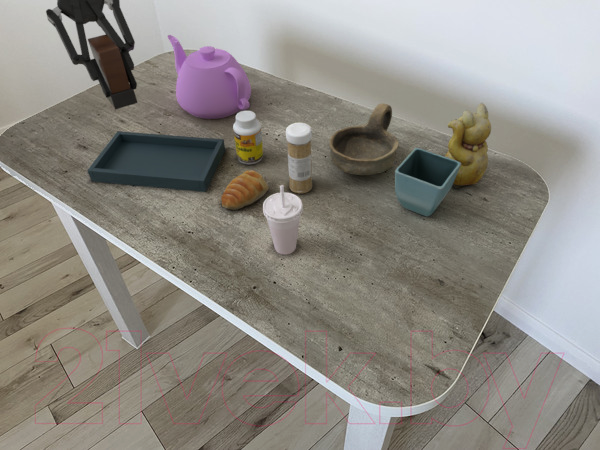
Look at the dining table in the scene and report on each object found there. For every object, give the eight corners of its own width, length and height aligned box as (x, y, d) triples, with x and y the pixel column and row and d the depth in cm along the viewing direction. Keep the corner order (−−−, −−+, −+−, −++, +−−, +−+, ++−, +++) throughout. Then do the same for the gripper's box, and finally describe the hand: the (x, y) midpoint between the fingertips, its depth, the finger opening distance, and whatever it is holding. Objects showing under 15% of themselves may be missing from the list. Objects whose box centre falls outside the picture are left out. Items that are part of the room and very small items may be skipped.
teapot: (274, 102, 117) (270, 47, 108) (222, 135, 108) (213, 78, 98) (203, 73, 129) (194, 21, 119) (151, 101, 119) (136, 47, 110)
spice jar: (311, 179, 96) (311, 120, 86) (312, 194, 93) (312, 135, 83) (288, 180, 96) (285, 121, 86) (288, 195, 93) (285, 136, 83)
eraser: (103, 92, 97) (84, 38, 89) (124, 86, 98) (108, 32, 91) (115, 109, 92) (96, 54, 84) (137, 102, 94) (121, 47, 86)
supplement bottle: (232, 161, 101) (225, 118, 94) (246, 147, 104) (241, 105, 97) (254, 168, 99) (249, 126, 91) (268, 154, 102) (265, 112, 95)
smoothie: (268, 262, 80) (262, 199, 71) (264, 235, 85) (258, 173, 75) (306, 257, 81) (305, 194, 71) (300, 231, 86) (298, 168, 76)
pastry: (239, 218, 88) (237, 202, 86) (212, 204, 91) (209, 188, 89) (271, 190, 94) (270, 175, 91) (245, 178, 97) (243, 163, 94)
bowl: (314, 172, 97) (314, 130, 90) (357, 131, 108) (360, 90, 101) (374, 196, 92) (379, 153, 85) (414, 151, 102) (421, 109, 95)
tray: (91, 181, 97) (87, 170, 95) (121, 141, 107) (117, 130, 105) (206, 192, 94) (203, 181, 92) (225, 150, 104) (223, 139, 102)
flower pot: (409, 184, 94) (415, 145, 88) (452, 200, 90) (462, 161, 84) (388, 209, 89) (393, 171, 83) (433, 228, 85) (442, 189, 79)
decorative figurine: (458, 159, 99) (475, 93, 89) (493, 177, 95) (515, 110, 84) (429, 179, 95) (443, 112, 84) (464, 199, 90) (484, 131, 80)
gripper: (114, -25, 96) (163, 84, 97) (21, -7, 89) (75, 111, 91) (114, -49, 89) (167, 70, 90) (14, -30, 82) (73, 97, 84)
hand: (121, 90), depth 91 cm, fingers closed on eraser, 4 cm apart
